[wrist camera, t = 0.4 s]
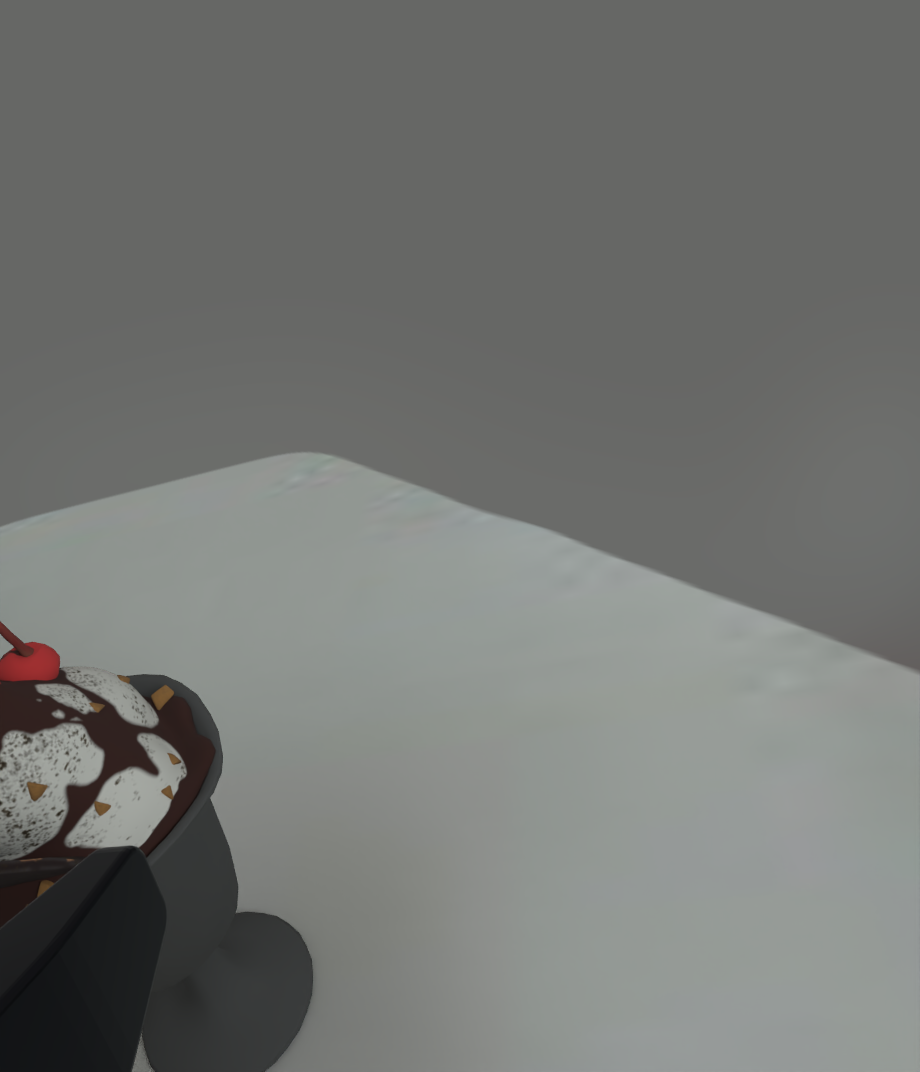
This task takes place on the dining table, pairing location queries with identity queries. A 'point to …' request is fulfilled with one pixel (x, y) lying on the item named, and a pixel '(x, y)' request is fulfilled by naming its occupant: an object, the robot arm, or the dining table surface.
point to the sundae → (145, 849)
